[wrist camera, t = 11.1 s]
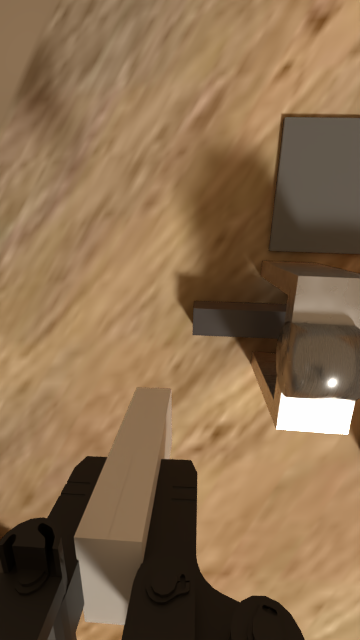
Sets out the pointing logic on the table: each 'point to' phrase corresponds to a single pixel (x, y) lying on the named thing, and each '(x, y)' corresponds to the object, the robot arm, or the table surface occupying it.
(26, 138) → the table surface
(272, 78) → the table surface
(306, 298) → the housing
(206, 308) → the plug
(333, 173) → the mat
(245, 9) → the table surface
